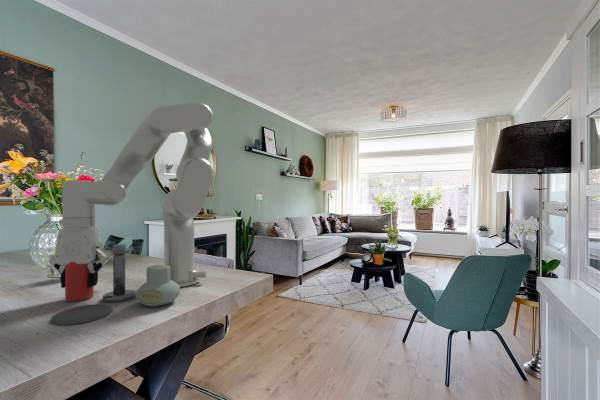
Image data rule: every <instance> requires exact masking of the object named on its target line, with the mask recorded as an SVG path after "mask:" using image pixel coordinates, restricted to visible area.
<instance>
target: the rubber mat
mask: <svg viewBox="0 0 600 400" xmlns="http://www.w3.org/2000/svg"><path fill="white" fill-rule="evenodd" d="M112 311H113V310H112V306H110V305H108V304H98V303H97V304H87V305H80V306H75V307H72V308H68V309H67V308H66V309H65V310H62V311H60V312H57V313H55V314H54V315H52V317H51V318H50V322H51V324H53V325H56V326H76V325H77V326H78V325H82V324H87V323H90V322H94V321H97V320H101V319H103V318H105V317H107V316H109V315H110V314H111V313H112Z"/></svg>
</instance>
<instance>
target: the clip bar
mask: <svg viewBox="0 0 600 400" xmlns="http://www.w3.org/2000/svg"><path fill="white" fill-rule="evenodd" d="M131 245H133V237H125V238H123V239H122V240H121V241H119V243H117V244H113V245H112V255H113V254H115V255H117V254H125V255H126V250H127V249H128V248H130V246H131Z"/></svg>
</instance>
